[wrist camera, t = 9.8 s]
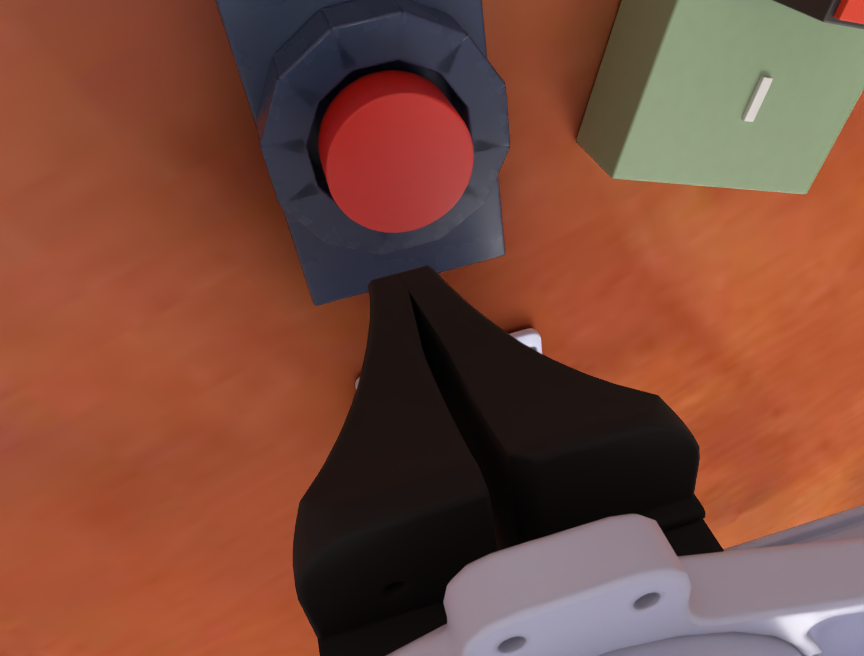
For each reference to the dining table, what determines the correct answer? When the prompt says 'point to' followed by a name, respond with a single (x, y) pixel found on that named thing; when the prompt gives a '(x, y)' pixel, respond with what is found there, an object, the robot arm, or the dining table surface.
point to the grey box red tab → (830, 11)
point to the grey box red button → (322, 81)
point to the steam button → (394, 151)
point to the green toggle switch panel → (721, 94)
